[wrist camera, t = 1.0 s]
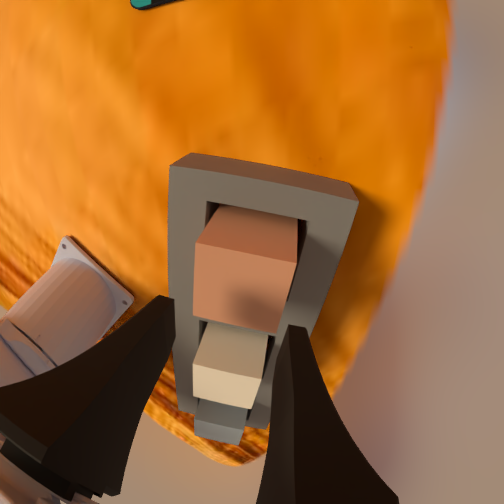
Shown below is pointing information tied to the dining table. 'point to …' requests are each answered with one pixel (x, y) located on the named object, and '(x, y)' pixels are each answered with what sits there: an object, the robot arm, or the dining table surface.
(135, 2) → the smartphone
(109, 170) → the dining table surface
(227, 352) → the white key
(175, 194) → the key panel
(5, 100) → the dining table surface
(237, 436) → the slate key
